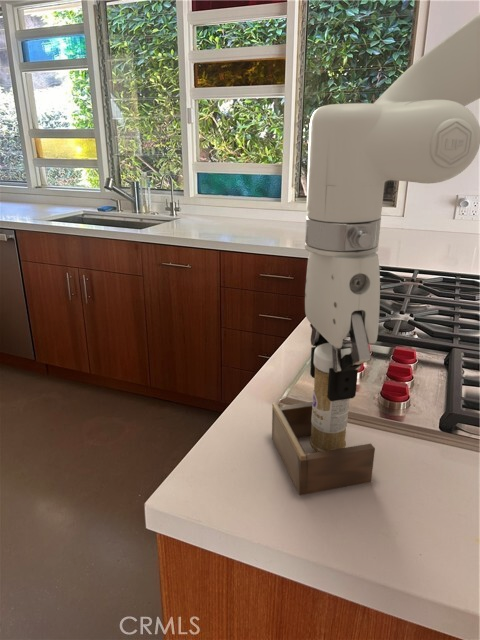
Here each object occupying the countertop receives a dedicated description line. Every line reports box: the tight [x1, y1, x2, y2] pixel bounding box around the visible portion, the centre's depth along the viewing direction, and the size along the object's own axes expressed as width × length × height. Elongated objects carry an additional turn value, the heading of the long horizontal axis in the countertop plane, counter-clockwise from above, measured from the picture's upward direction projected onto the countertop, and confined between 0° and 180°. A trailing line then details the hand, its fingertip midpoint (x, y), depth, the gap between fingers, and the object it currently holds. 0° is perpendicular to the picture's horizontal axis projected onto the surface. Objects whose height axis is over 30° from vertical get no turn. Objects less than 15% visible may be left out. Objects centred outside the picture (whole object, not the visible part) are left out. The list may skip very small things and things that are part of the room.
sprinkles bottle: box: [309, 343, 351, 452], centre depth 56 cm, size 5×5×14 cm
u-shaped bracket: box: [271, 401, 376, 496], centre depth 58 cm, size 9×11×6 cm
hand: (331, 385), depth 55 cm, fingers closed on sprinkles bottle, 4 cm apart
